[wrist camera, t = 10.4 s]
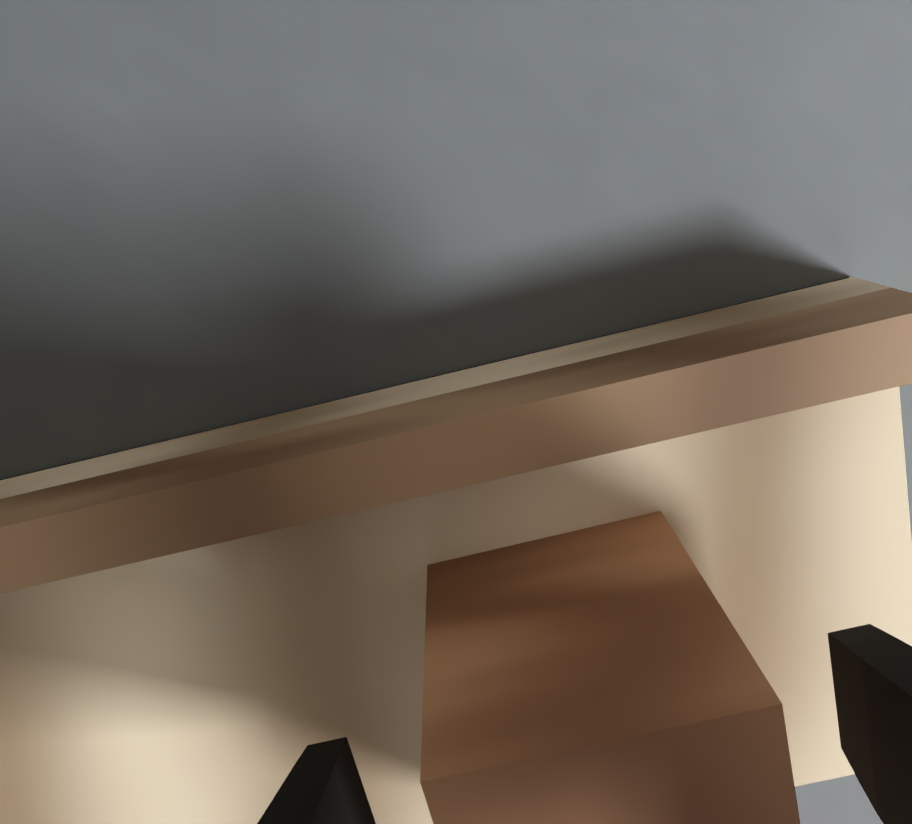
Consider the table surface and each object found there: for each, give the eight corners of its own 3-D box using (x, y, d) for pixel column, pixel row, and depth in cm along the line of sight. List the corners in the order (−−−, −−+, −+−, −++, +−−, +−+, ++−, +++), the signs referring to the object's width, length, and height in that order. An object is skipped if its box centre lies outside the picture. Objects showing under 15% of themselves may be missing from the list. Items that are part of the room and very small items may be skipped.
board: (-134, 931, 17) (-234, 1066, 15) (-355, 564, 15) (-525, 650, 12) (893, 716, 16) (980, 822, 14) (852, 276, 14) (950, 304, 11)
